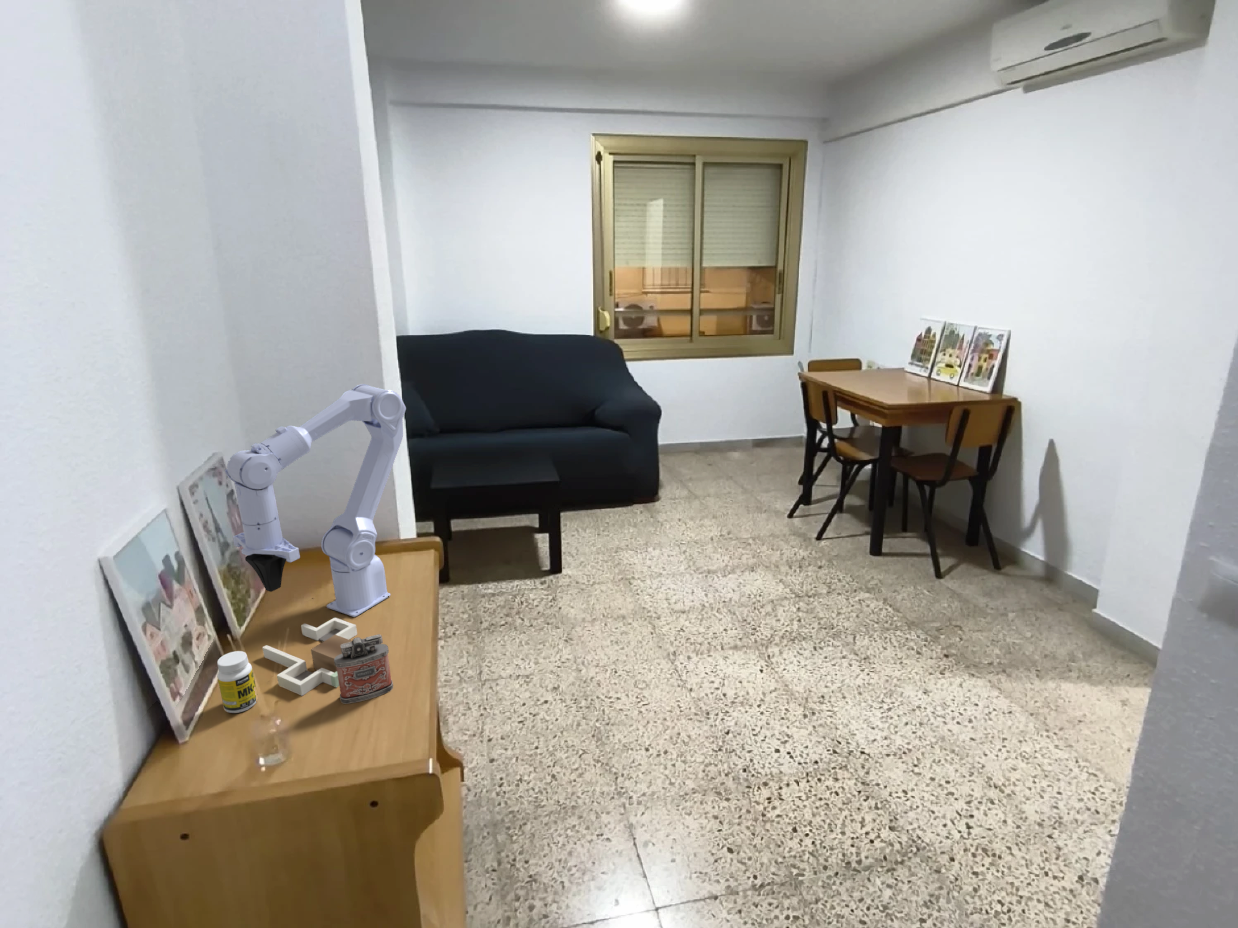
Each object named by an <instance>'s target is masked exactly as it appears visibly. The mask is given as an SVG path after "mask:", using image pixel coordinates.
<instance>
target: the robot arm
mask: <svg viewBox="0 0 1238 928" xmlns="http://www.w3.org/2000/svg"><path fill="white" fill-rule="evenodd" d="M406 410H407V407H406V405H405V403H404V401H403V399H402V397H401V396H400V394H398V392H396V391H395V390H392V389H385V388H384V389H383V388H381V387H375V386H372V385H369V384H366V383H360V384H358V385H355V386H354V387H353V388H351V389H348V390H346V391H344V392H343V394H341V396H340V397H339V398H338V399H336V400H335V401H333V402H332V403H331V404H330V405H328V406H326V407H325V408H324V409H322V410H320V412H317V414H315V415H314V416H313V417H311V418H309V419H308V420H307V421H305V422H304V423H303V424H301V425H299V426H294V425H287V426H283V425H282V426H281V425H280V426H279V427H277V428H276V429H275V433H274V434H272V435H271V436H269V437H267V438H265V439H264V440H262V441H261V442H258V443H257V442H255V443H253V444H252V445H251V446H250V447H251V449H249V450H248V449H246V450H244V449H243V450H239V451H237V452H235V453H234V454H232V455H231V456H230V458H229V460H228V462H227V466H226V468H225V469H224V473H225V475H226V476H227V477H228V479H229V480H230V481H233V482H234V488H235V493H236V501H237V505H238V509H239V515H240V520H241V525H242V531H243V532H240V533H238V534H236V535H233V536H232V541H233V546H234V547H236V548H240V547H242V549H241V550H240V552H241V554H242V555H245V557H244V559H245V561H246V562H247V563H248V564H249V565H250V567H252V569H253V570H254V572H255V573H256V574H257V576H258V577H259V579H260V581H261V584H262V585H263V588H264V589H265V591H266V592H267V591H268V592H270V593H272V592H275V591H276V590H278V589H280V588H281V587H282V579H283V571H284V568H285V564H286V562H287V563H292V562H295V561H297V560H299V559H300V558H301V555H300V549H299V547H296V546H294V545H293V544H292V543H290V541H288V540H287V539H286V538H285V537H284V536H283V532H282V526H281V521H280V516H279V509H278V505H277V500H276V499H277V498H276V492H275V490H274V489H275V488H274V483H275V481H276V479H277V477H278V474H279V473H280V472H281V471H283V470H285V469H286V468H287V467H289V466H290V465H292V464H294V462H296V461H298V460H299V459H301V458H303V457H304V456H305V455H307V454H308V453H310V452H311V448H312V443H313V442H315V441H317V440H318V439H320V438H322V437H324V436H325V435H327V434H329V433H330V432H332V431H334V430H336V429H338V428H339V427H340V426H343V425H344V424H346V423H348V422H351V421H354V422H355V421H357V422H362V423H363V424H364V425H365V427H366V429H367V431H368V432H369V435H370V436H371V439H370V442H369V444H368V447H367V450H366V453H365V454H364V458H363V461H362V463H361V466H360V468H359V471H358V474H357V477H356V480H355V482H354V484H353V488H352V491H351V492H350V495H349V499H348V501H347V503H346V506H345V510H344V511H343V513H341V514H340V515H338V516H336V517H335V518H334V519H333V522H332V523H331V526H330V528H329V529H328V530H327V531H326V532H325V533H324V534H323V536H322V537H321V542H320V546H321V547H320V548H321V550H322V552H323V554H325V555H326V556H328V557H329V562H330V570H331V571H330V572H331V577H332V584H333V585H332V586H333V590H334V596H335V597H334V598H335V600H333V601H331V602H330V603H328V604H327V605H326V608H327V609H331V610H333V611H336V612H338V613H342V614H345V615H347V616H350V617H354V618H355V617H358V616H359V615H361V614H362V613H364V612H366V611H367V610H370V608H371V609H372V607H374V606H376V605H378V604H379V603H381V602H382V601H384V600H386V599H388V598H389V597H391V593H390V592H388V589H387V588H388V587H387V580H386V579H387V578H386V572H385V567H384V566H385V565H384V563H383V561H382V560H381V558H380V557H378V555H376V554H375V553H376V540H377V538H378V533H377V530H376V528H375V527H376V526H375V524H374V518H375V515H376V513H377V510H378V507H379V504H380V502H381V499H382V496H383V494H384V490H385V487H386V485H387V483H388V480H389V477H390V475H391V471H392V468H393V466H394V464H395V461H396V457H397V456H398V455H397V454H398V453H399V452H398V451H399V449H400V447H401V444H402V441H403V438H404V424H403V423H404V421H403V419H404V415H405V413H406ZM388 596H389V597H388Z"/></svg>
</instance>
